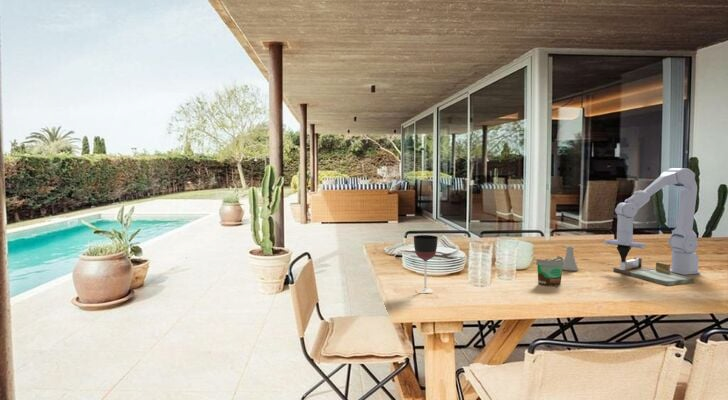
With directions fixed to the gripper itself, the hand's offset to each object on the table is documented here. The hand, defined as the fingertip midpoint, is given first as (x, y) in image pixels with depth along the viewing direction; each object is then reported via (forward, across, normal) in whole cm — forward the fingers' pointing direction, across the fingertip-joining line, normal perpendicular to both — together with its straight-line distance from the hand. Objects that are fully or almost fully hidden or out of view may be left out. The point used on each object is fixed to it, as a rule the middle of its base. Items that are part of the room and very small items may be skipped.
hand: (623, 263), depth 189 cm
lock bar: (+2, +2, +3) cm, 4 cm away
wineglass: (+4, -41, -81) cm, 91 cm away
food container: (+4, -12, -40) cm, 42 cm away
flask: (+4, -18, -10) cm, 21 cm away
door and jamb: (+4, +10, +1) cm, 11 cm away
